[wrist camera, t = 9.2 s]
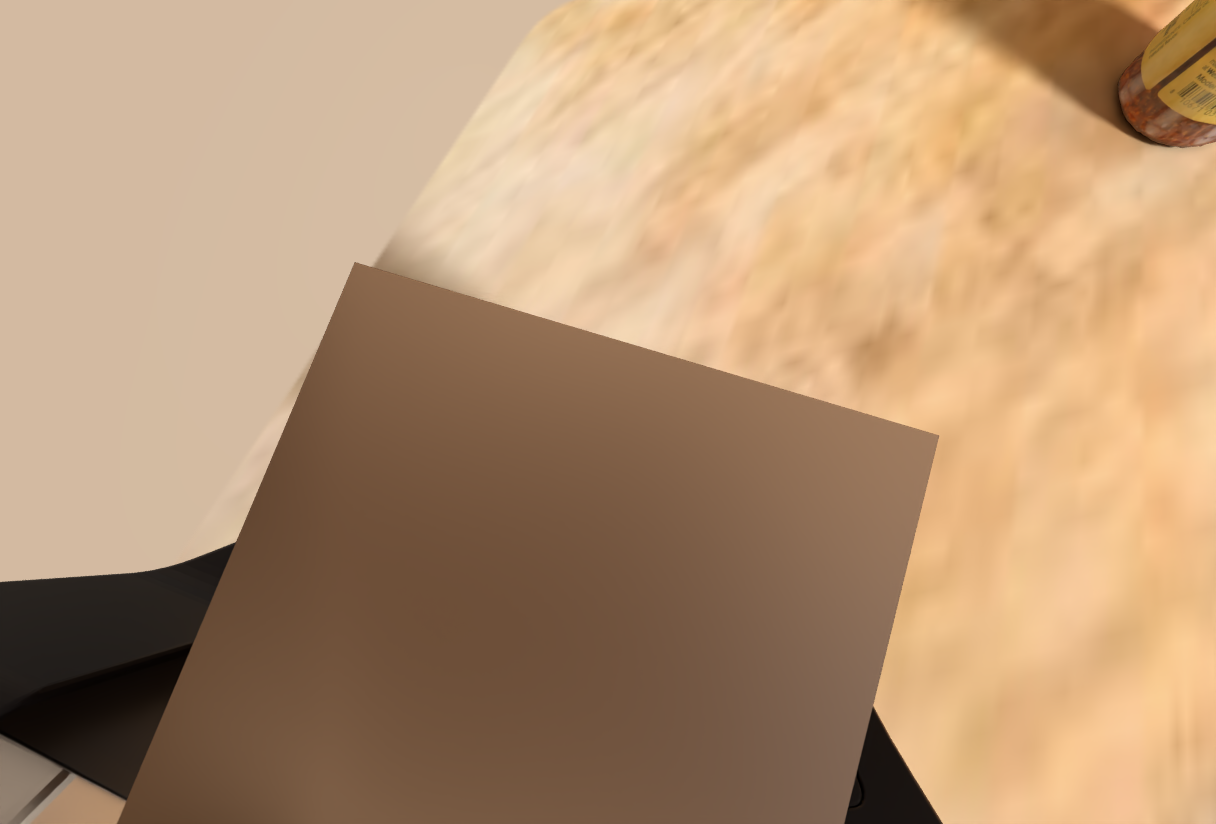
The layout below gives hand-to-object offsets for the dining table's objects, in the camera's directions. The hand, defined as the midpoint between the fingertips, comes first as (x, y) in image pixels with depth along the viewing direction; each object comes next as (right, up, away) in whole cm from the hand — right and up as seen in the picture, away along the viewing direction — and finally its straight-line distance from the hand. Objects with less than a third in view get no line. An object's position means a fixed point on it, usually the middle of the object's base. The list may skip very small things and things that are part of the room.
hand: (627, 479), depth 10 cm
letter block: (0, -2, +6) cm, 7 cm away
